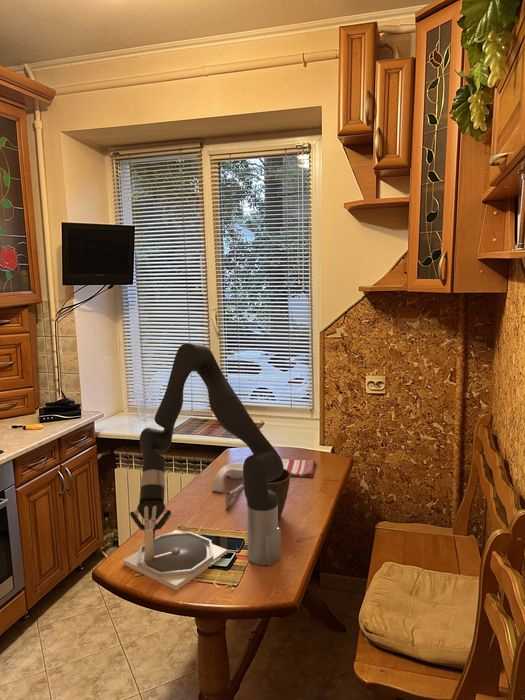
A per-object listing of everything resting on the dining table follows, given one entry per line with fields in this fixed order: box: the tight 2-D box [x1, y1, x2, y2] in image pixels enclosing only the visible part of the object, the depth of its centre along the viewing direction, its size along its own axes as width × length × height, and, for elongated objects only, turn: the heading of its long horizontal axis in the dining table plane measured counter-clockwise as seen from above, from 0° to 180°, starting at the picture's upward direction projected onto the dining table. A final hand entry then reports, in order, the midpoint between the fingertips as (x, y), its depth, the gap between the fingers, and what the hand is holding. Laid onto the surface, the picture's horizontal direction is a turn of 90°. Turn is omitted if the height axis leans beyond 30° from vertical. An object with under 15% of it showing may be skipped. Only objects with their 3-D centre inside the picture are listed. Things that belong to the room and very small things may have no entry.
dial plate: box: [122, 529, 228, 591], centre depth 157 cm, size 22×22×3 cm
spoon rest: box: [212, 463, 244, 493], centre depth 214 cm, size 24×12×7 cm, turn 157°
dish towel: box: [281, 458, 316, 478], centre depth 226 cm, size 17×23×3 cm
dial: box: [143, 527, 207, 572], centre depth 156 cm, size 19×19×10 cm
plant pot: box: [268, 469, 291, 521], centre depth 181 cm, size 15×15×16 cm
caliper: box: [225, 484, 244, 509], centre depth 199 cm, size 20×1×6 cm, turn 165°
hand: (149, 543), depth 154 cm, fingers closed
